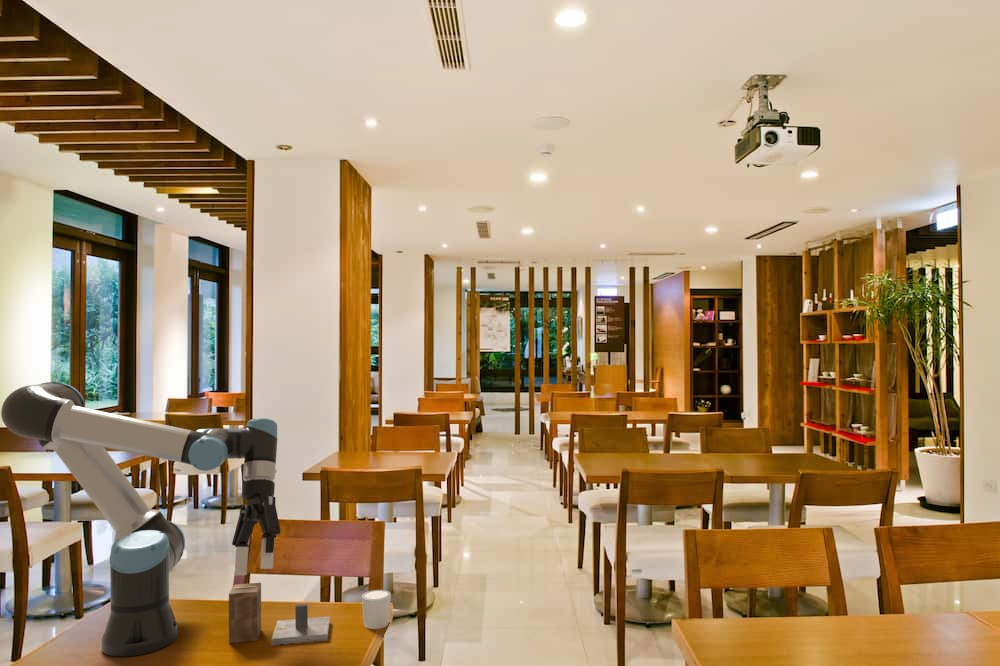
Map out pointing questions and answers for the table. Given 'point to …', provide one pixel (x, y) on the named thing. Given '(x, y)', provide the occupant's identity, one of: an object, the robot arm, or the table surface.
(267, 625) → the table surface
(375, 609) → the white cup
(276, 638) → the grey stand base
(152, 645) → the robot arm
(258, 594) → the brown slotted box
